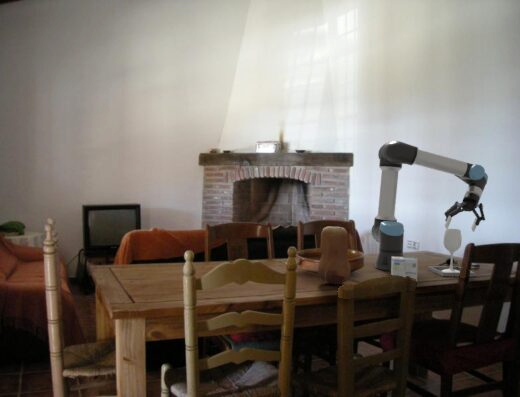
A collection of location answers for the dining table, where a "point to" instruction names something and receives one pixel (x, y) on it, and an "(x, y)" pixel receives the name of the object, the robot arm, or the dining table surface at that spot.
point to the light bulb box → (404, 266)
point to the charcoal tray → (439, 271)
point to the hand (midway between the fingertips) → (459, 228)
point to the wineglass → (452, 245)
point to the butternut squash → (334, 255)
